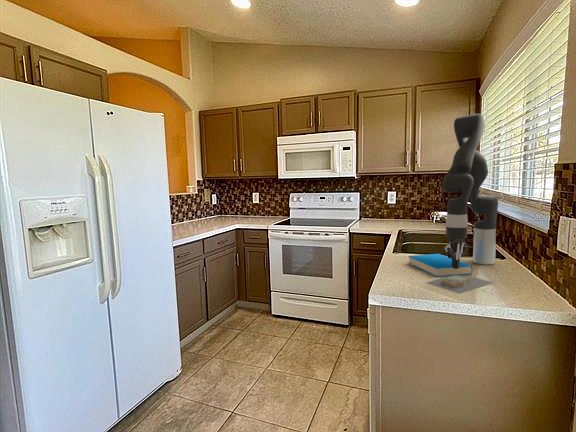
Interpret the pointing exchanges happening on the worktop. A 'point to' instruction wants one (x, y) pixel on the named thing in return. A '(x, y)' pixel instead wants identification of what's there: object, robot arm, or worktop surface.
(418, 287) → the worktop surface
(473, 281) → the mat
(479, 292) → the worktop surface
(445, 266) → the book
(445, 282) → the tile
